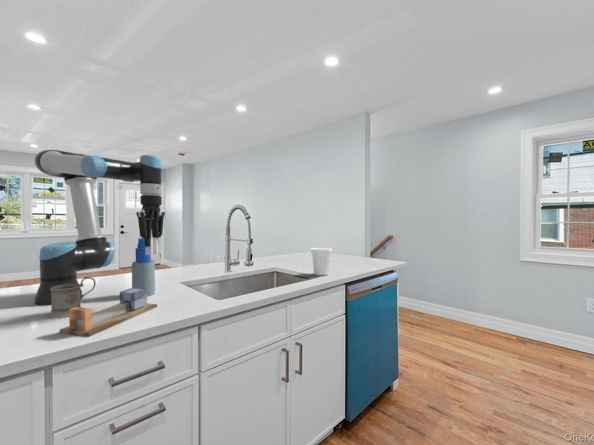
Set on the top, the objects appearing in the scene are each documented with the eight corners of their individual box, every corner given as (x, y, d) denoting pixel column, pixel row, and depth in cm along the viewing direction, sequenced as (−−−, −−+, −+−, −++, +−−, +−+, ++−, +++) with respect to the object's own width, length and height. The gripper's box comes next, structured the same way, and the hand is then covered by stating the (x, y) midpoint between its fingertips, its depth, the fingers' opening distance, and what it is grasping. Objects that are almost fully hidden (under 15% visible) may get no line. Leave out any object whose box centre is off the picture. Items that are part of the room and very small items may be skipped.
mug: (55, 320, 98) (54, 284, 97) (43, 314, 103) (42, 280, 102) (102, 308, 110) (101, 276, 109) (89, 304, 115) (89, 273, 115)
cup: (332, 276, 166) (332, 250, 166) (310, 276, 166) (310, 249, 166) (330, 272, 179) (330, 247, 178) (310, 272, 179) (310, 247, 178)
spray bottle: (145, 290, 135) (145, 236, 134) (159, 293, 131) (158, 237, 130) (127, 295, 126) (126, 238, 126) (141, 298, 123) (140, 239, 122)
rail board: (59, 332, 87) (59, 309, 87) (133, 304, 114) (132, 286, 114) (89, 336, 85) (88, 312, 84) (157, 306, 112) (156, 288, 112)
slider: (119, 308, 106) (119, 291, 105) (130, 304, 110) (130, 288, 110) (134, 309, 104) (134, 293, 104) (145, 305, 109) (145, 289, 109)
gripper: (144, 193, 107) (145, 257, 108) (171, 196, 122) (172, 252, 123) (127, 194, 109) (128, 256, 110) (156, 196, 124) (157, 251, 125)
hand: (151, 254), depth 116 cm, fingers open, 2 cm apart
